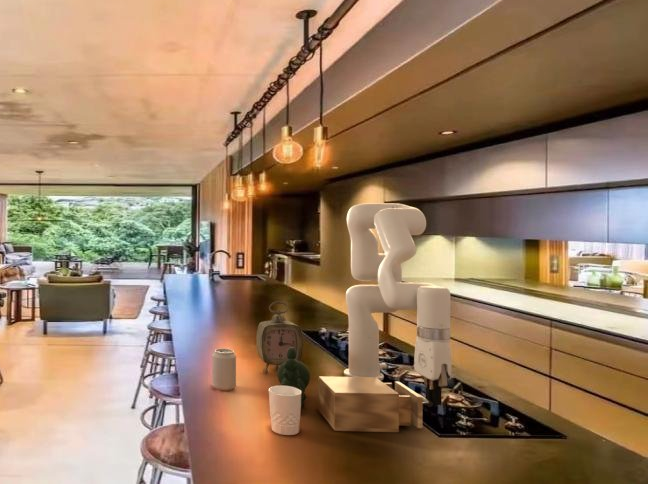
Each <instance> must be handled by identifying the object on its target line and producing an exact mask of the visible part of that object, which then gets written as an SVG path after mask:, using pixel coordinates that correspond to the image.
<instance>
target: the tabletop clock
mask: <svg viewBox="0 0 648 484" xmlns="http://www.w3.org/2000/svg"><path fill="white" fill-rule="evenodd" d="M278 304H280V305H284V306H285V307H286V309H285V310H282V311H281V309H276V310H277V311H274V310H272V309H271V307H272V306H273V305H278ZM268 310H269V311H270V313H273V314H274V315H272V317H271V318H270V320H264V321H261V322H259V324H258V326H257V329H256V340H255V341H256V342H255V343H256V351H257V356H258V357H259V358H260V359H261V361H263V363H265V364H266V365H265V368H264V369H263V370H262V371H263V373H264V374H266V375H267V374H268V373H269V370H268V368H269V366H270V365H271V366H273V368H274V370H275V371H278V369H279V367H280V365H281V364H282V363H283V362H285V361H286V360H288V358H287V350H288V349H289V348H290V347H293V348H295V350H296V358H295V359H294V360H298V361H301V360H302V356H303V346H304V343H303V341H304V340H303V333H302V329H301V327H300V326H299V325H297V324H296V323H294V322H291V321H289V320H287V318H286V317H285V315H283V314H285V313H287V312H288V311H289V305H288V304H287V303H286V302H283V301H274V302H272V303H271V304H269V306H268Z"/></svg>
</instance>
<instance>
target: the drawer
mask: <svg viewBox="0 0 648 484" xmlns="http://www.w3.org/2000/svg"><path fill="white" fill-rule="evenodd" d="M383 383H384V384H386V385H387V386H389V387H390V388H391V389H393V383H392V382H383ZM394 391H396V392H397V393H398V394H399V426H408V427H409V426H412V425H413V426H414V427H416V428H417V429H423V424H424V423H423V422H424V421H423V418H424V417H423V414H424V413H423V406H427V407H429V408H432V407H433V406H434V405H433V403H432V402H431V401H429V400H428V399H426V396H423V395H422V394H420V393H417V392H416V391H414V390H413V389H411V388H409V387H408V386H407V385H406V384H403V383H402V382H400V381H394Z"/></svg>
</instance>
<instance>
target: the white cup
mask: <svg viewBox="0 0 648 484" xmlns="http://www.w3.org/2000/svg"><path fill="white" fill-rule="evenodd" d="M301 393H302V392H301V390H299V389H297V388H295V387H291V386H281V384H280V385H273V386H270V387H269V388H268V398H269V399H268V400H269V401H268V402H269V417H270V428H271V431H273V432H274V433H275V434H278V435H282V436H294V435H297V434H298V433H299V432H300V422H301V411H302V409H301Z"/></svg>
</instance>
